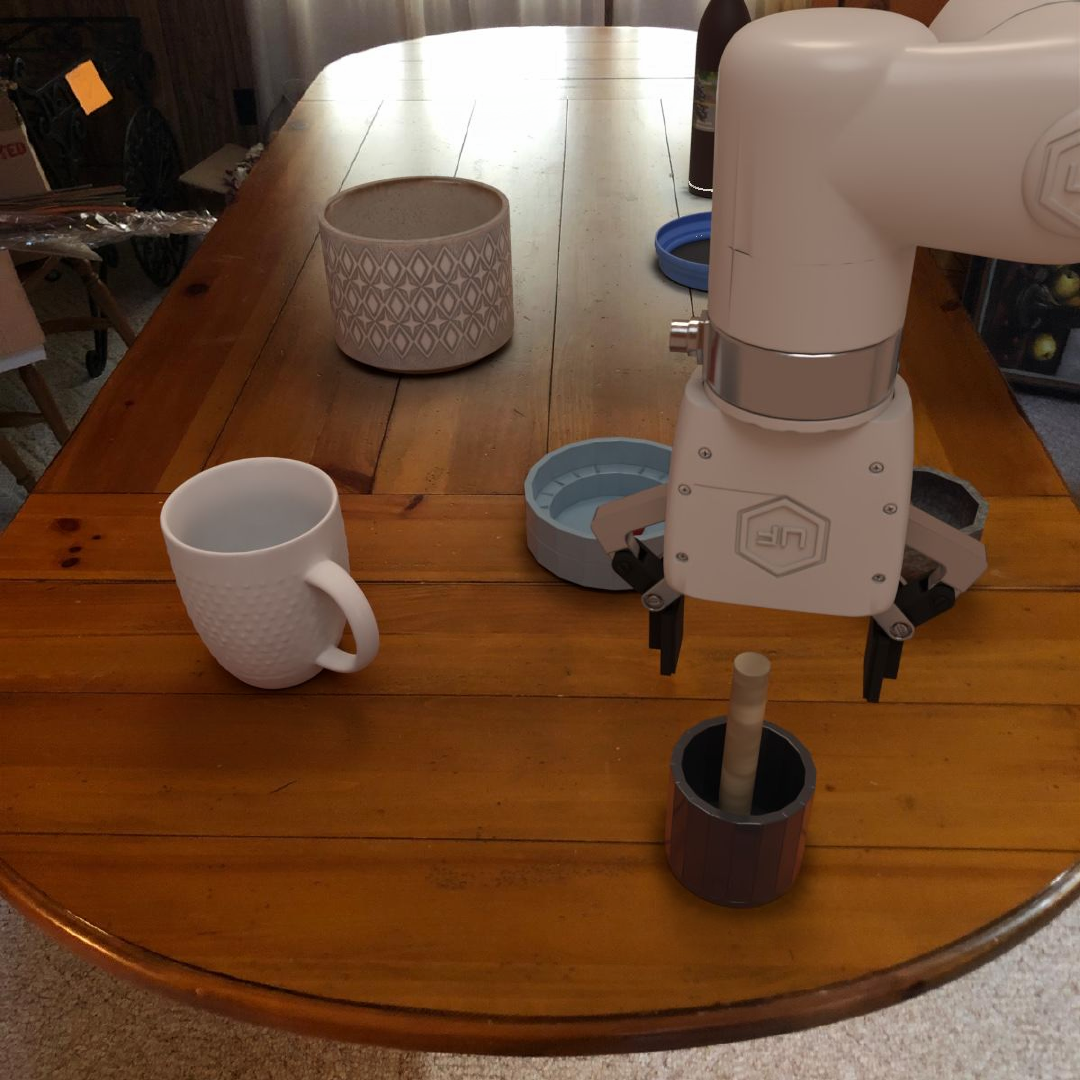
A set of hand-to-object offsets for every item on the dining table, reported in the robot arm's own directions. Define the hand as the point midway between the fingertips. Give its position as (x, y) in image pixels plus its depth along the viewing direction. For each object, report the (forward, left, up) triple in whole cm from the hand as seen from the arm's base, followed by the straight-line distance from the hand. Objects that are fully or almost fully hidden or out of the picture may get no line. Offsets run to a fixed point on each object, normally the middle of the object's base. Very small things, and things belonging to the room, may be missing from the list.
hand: (769, 669), depth 54 cm
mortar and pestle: (-8, -28, -14) cm, 32 cm away
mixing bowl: (+13, -28, -14) cm, 34 cm away
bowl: (+10, -84, -14) cm, 86 cm away
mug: (+32, -9, -14) cm, 36 cm away
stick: (+1, 0, -14) cm, 14 cm away
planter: (+39, -58, -14) cm, 71 cm away
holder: (+1, 0, -14) cm, 14 cm away
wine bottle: (+15, -110, -14) cm, 112 cm away
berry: (+12, -27, -12) cm, 32 cm away
